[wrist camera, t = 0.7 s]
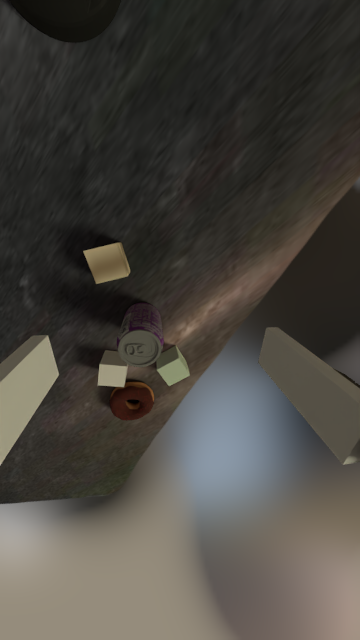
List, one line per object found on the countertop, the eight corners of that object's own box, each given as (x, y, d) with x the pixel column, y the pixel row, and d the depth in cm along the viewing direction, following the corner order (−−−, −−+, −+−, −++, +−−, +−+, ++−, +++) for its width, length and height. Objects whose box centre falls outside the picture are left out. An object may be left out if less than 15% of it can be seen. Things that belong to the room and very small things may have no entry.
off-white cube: (105, 349, 40) (99, 364, 36) (129, 352, 41) (127, 366, 37) (103, 369, 42) (97, 385, 37) (127, 371, 43) (124, 387, 38)
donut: (161, 387, 46) (162, 399, 43) (142, 414, 49) (141, 428, 45) (122, 372, 43) (120, 384, 39) (104, 402, 46) (100, 417, 42)
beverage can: (127, 335, 39) (118, 372, 29) (122, 302, 37) (110, 329, 26) (161, 332, 40) (166, 367, 29) (159, 300, 38) (163, 325, 27)
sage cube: (156, 355, 42) (156, 369, 38) (175, 345, 42) (179, 358, 38) (167, 371, 44) (169, 386, 40) (186, 361, 44) (190, 375, 40)
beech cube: (92, 249, 32) (83, 251, 28) (121, 242, 33) (116, 242, 28) (103, 278, 35) (96, 283, 30) (130, 271, 35) (127, 276, 30)
